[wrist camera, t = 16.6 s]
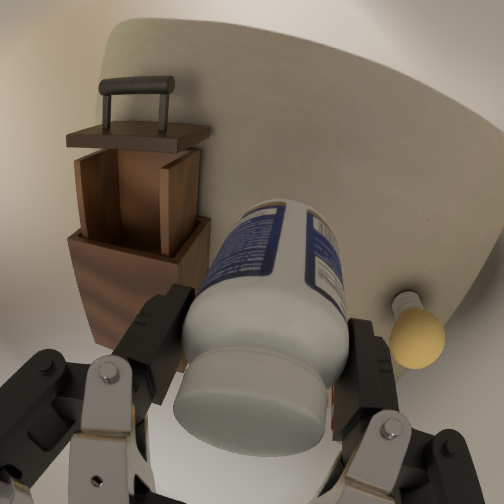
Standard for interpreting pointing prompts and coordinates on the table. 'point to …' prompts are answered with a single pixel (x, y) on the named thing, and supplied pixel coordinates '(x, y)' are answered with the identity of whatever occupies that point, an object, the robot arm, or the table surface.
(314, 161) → the table surface
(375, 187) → the table surface
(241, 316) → the pill bottle
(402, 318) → the light bulb
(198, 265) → the cabinet
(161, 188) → the drawer
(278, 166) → the table surface
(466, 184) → the table surface
